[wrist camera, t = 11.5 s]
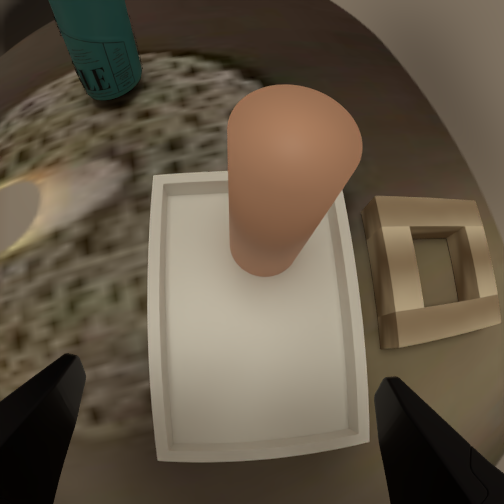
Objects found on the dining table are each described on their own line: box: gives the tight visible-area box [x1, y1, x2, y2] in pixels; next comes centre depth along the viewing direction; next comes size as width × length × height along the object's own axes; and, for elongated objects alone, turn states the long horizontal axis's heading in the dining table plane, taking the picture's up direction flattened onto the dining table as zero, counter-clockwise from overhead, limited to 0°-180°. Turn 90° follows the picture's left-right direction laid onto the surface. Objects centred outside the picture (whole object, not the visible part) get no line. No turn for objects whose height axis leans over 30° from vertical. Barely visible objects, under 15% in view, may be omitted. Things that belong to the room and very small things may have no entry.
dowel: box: [227, 85, 362, 277], centre depth 17 cm, size 5×5×13 cm
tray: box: [148, 171, 369, 462], centre depth 21 cm, size 20×14×2 cm
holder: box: [361, 196, 501, 349], centre depth 23 cm, size 11×11×3 cm
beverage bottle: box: [49, 0, 143, 100], centre depth 19 cm, size 6×7×20 cm
